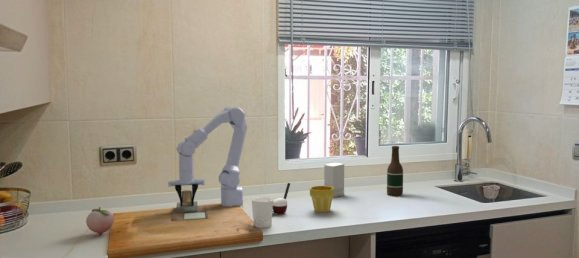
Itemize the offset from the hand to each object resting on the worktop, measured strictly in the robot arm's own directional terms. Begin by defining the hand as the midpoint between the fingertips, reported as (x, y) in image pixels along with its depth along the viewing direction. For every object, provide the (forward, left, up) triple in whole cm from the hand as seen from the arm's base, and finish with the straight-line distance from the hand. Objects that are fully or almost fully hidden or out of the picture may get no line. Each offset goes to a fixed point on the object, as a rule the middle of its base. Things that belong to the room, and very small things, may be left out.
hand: (187, 202), depth 187 cm
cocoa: (-38, +8, -5) cm, 39 cm away
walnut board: (-1, +5, -5) cm, 7 cm away
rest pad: (-3, +11, -3) cm, 11 cm away
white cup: (-28, +24, -5) cm, 37 cm away
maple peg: (0, 0, -3) cm, 3 cm away
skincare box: (-70, -18, -5) cm, 72 cm away
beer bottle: (-99, -12, -5) cm, 100 cm away
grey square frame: (0, 0, -3) cm, 3 cm away
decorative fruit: (+30, +22, -5) cm, 38 cm away
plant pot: (-56, +8, -5) cm, 57 cm away
